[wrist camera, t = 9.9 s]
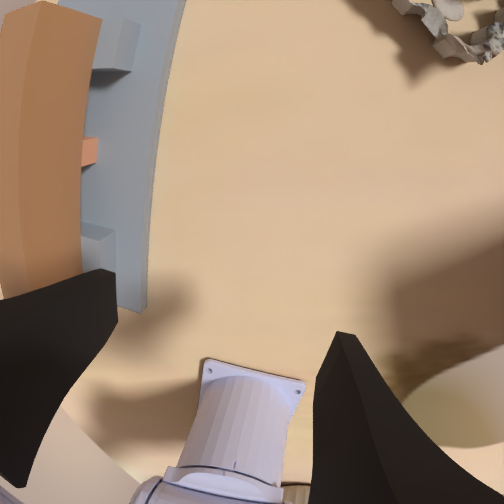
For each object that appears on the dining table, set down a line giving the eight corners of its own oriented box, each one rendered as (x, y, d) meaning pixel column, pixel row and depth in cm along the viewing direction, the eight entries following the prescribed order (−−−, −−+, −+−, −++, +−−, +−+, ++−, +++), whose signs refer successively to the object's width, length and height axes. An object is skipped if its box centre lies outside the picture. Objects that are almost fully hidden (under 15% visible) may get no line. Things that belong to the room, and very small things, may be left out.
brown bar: (83, 277, 19) (36, 317, 14) (48, 264, 19) (1, 299, 14) (102, 19, 12) (42, 0, 8) (61, 26, 12) (1, 15, 8)
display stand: (146, 306, 22) (128, 329, 20) (48, 271, 23) (26, 287, 20) (189, -13, 13) (170, -32, 11) (66, 3, 14) (40, -5, 11)
